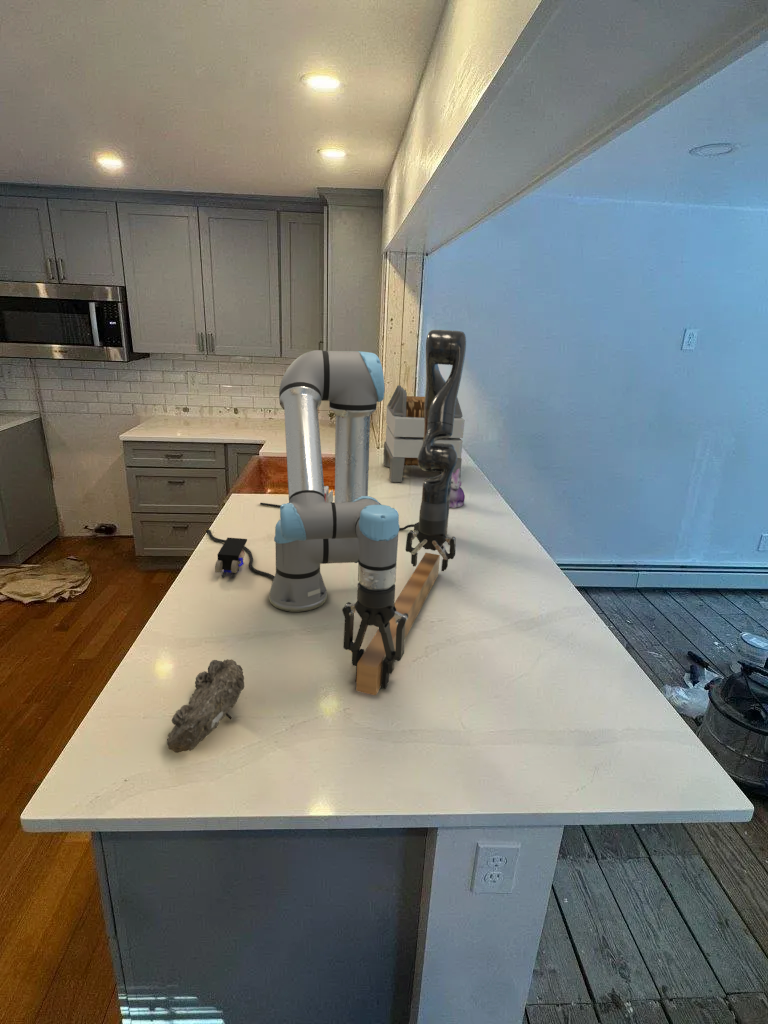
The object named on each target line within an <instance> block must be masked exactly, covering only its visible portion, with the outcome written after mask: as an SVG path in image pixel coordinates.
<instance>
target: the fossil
mask: <svg viewBox="0 0 768 1024" xmlns="http://www.w3.org/2000/svg"><path fill="white" fill-rule="evenodd" d="M243 670H244V669H243V667H242V665H240V664H237V662H236V661H235V660H234V659H232V658H231V659H227V658H226V659H224V660H223V661H222V660H217V659H212V660H211V661H210V663H209V665H208V666H207V671H201V672H199V673H198V674H197V675H196V676H195V680H194V684H195V685H194V687H195V689H194V690H193V693H192V694H191V697H190V698H189V700H188V704H184V705H182V706H181V707H180V709H177V710H176V711H175V713H174V715H173V716H172V718H171V723H172V724H173V727H172V730H171V731H170V732H168V734H167V738H166V741H167V742H166V745H167V749H168V750H169V751H173V752H174V753H176V754H178V753H182V752H188V751H189V752H192V751H193V750H195V748H196V747H197V746H199V744H200V743H201V742H203V741H204V740H205V739H206V738H207V737H208V736H209V735H210V734H211V733H212V732H214V730H215V729H217V727H218V726H219V724H220V722H221V721H222V720H223V719H224V718H225V716H226V717H227V719H229V720H233V717H232V715H230V714H229V710H230V709H231V708H234V706H235V704H236V703H237V702H238V699H239V697H240V695H241V693H242V691H243V690H245V689H244V688H245V675H244V671H243Z"/></svg>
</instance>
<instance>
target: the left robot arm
mask: <svg viewBox="0 0 768 1024" xmlns="http://www.w3.org/2000/svg"><path fill="white" fill-rule="evenodd" d="M385 390H386V389H385V377H384V370H383V366H382V363H381V360H380V357H379V356H378V355H377V354H376V353H374V352H368V351H361V350H322V349H321V350H320V349H315V350H310V351H306V352H305V353H302V354H301V355H300V356H298V357H297V358H296V359H294V360H293V361H292V362H291V364H290V365H289V366H288V367H287V369H286V370H285V372H284V374H283V376H282V378H281V379H280V385H279V389H278V401H279V405H280V407H281V409H283V410H284V431H285V432H284V433H285V449H286V451H285V452H286V471H287V474H286V475H287V493H288V502H286V503H282V504H280V505H281V506H280V507H279V510H280V511H279V518H280V519H279V520H278V521H277V522H276V523H275V526H274V537H273V540H274V542H275V574H274V575H273V574H271V573H269V572H266V571H262V570H259V569H256V568H255V567H254V566H253V565H254V556H253V554H252V551H251V550H250V549H249V548H248V547H247V546H246V545H245V546H244V548H243V551H245V552H246V553H247V554H248V556H249V564H248V568H249V569H250V570H251V571H252V572H254V573H256V574H258V575H262V576H265V577H268V578H270V579H272V580H273V581H272V583H271V586H270V590H269V602H270V604H271V606H273V607H274V608H276V609H278V610H281V611H284V612H289V613H302V612H309V611H313V610H315V609H318V608H320V607H321V606H323V605H324V604H325V603H326V602H327V599H328V596H327V595H328V591H327V587H326V584H325V582H324V579H323V575H322V573H321V565H323V564H324V565H326V564H348V563H349V564H351V563H354V564H357V581H358V582H357V589H356V590H357V591H356V602H355V603H351V602H349V601H348V602H346V604H345V605H344V606H343V607H342V609H341V610H342V614H343V617H344V625H343V645H342V646H343V649H344V650H346V651H350V652H351V665H352V667H355V683H357V663H358V661H359V660H360V658H361V657H362V655H363V653H364V652H365V649H364V648H361V647H362V644H363V642H364V638H365V636H366V632H367V630H368V627H369V626H374V627H376V628H378V629H379V632H380V633H381V637H382V641H383V645H384V650H385V654H386V657H385V659H384V660H383V672H382V685H381V689H386V688H387V686H388V684H389V682H390V675H392V674H393V672H394V670H395V663H396V662H395V661H397V662H400V661H401V660H402V659H403V656H404V654H405V643H406V642H405V641H406V638H405V623H406V621H407V619H408V617H409V616H408V614H407V613H404V614H401V613H399V612H397V611H396V608H395V605H394V603H395V602H396V600H395V599H396V597H395V596H396V581H397V561H398V559H397V558H398V547H399V533H400V531H399V528H400V517H399V515H400V514H399V511H398V510H397V509H396V508H394V507H391V506H390V505H386V504H382V503H381V502H380V501H378V500H377V499H376V498H375V497H372V496H369V470H370V468H369V467H370V466H369V465H370V438H371V437H370V433H371V416H372V415H373V414H374V413H375V412H376V411H377V410H378V409H377V408H378V403H380V402H382V401H383V400H384V399H385ZM323 401H326V402H329V410H330V411H331V412H332V413H333V414H334V416H335V427H334V428H335V430H334V431H335V432H334V433H335V435H334V501H333V502H331V503H325V493H324V486H325V483H324V469H323V459H322V458H323V457H322V445H321V433H320V422H319V421H320V420H319V408H320V407H321V405H322V402H323ZM205 533H206V534H208V536H209V538H210V539H211V540H213V541H214V542H218V543H223V544H224V543H225V541H226V539H221V538H218V537H216V536H214V535H213V533H212V531H211V529H209V528H207V529H206V530H205ZM355 613H357V614H358V616H359V617H360V619H361V620H360V623H359V626H358V629H357V633H356V636H355V639H354V629H355V628H354V626H355ZM393 617H394V618H395V622H396V625H397V628H396V651H395V649H394V644H393V640H392V635H391V631H390V622H389V621H390V620H391V619H392V618H393Z"/></svg>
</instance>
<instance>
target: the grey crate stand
mask: <svg viewBox="0 0 768 1024" xmlns="http://www.w3.org/2000/svg"><path fill="white" fill-rule="evenodd" d="M407 394H408V393H407V390H406V389H404V388H403V387H402V385H399V384H398V385H397V386H396V388H395V390H394V392H393V394H392V395H391V398H390V400H389V402H388V404H387V405H386V413H385V414H386V415H385V423H386V428H385V438H384V442H383V466H384V467H388V468H389V475H388V476H389V477H388V478H389V480H390V482H391V483H402V482H403V475H404V469H405V466H406V467H407V466H411V467H412V466H413V467H415V466H416V467H417V466H418V467H419V465H418V455H419V452H420V450H421V447H422V445H423V438H424V405H425V396H415V395H414V396H413V395H412V396H411V395H407ZM464 429H465V419H464V418H463V411H462V408H461V405H460V402H459V398H458V397H457V399H456V405H455V413H454V424H453V433H452V436H451V437H450V438H446V439H440V440H437V441H435V442H434V443H445V444H452V445H453V446H454V449H455V451H456V453H457V462H456V465H455V468H454V470H453V473H455V472H456V470H457V469H458V468H459V469H460V473H459V478H460V479H461V472H462V461H463V460H462V453H463V442H464V441H463V440H462V439H463V438H464V431H465V430H464ZM442 473H443V472H440V474H442Z"/></svg>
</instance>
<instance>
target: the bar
mask: <svg viewBox="0 0 768 1024" xmlns="http://www.w3.org/2000/svg"><path fill="white" fill-rule="evenodd" d="M440 557H441V554H436V553H430V552H425V553H424V555H423V556H422V558H421V560H420V561H419V562H418V563H417V565H416V568H415V569H414V570H413V572H412V574H411V576H410V577H409V579H408V581H407V582H406V583H405V585H404V587H403V589H402V590H401V591H400V593H399V595H398V597H397V598H396V600H395V601H394V605H395V608H396V611H397V612H399V613H401V614H404V613H407V614H408V616H409V617H408V619H407V621H406V623H405V639H406V638H407V637H408V634H409V633H410V630H411V629H412V627H413V625H414V623H415V621H416V619H417V617H418V615H419V614H420V611H421V609H422V607H423V606H424V604H425V601H426V600H427V598H428V596H429V594H430V592H431V590H432V589H433V586H434V585H435V582H436V580H437V578H438V576H439V569H440V561H441V560H440ZM389 622H390V631H391V635H392V640H393V644H394V649H395V651H396V628H397V625H396V622H395V618H394V617H393V618H392V619H391V620H390V621H389ZM385 657H386V654H385V650H384V645H383V641H382V637H381V633H380V632H379V628H378V629H377V631H376V632H375V634H374V635H373V637H372V639H371V640H370V642H369V643H368V645H367V647H365V649H364V653H363V655H362V657H361V658H360V660H359V661H358V663H357V682H355V683H356V686H355V688H356V689H355V691H356V692H359V693H363V694H368V695H372V696H377V694H378V693H379V691H380V689H381V688H382V672H383V660H384V659H385Z"/></svg>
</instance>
